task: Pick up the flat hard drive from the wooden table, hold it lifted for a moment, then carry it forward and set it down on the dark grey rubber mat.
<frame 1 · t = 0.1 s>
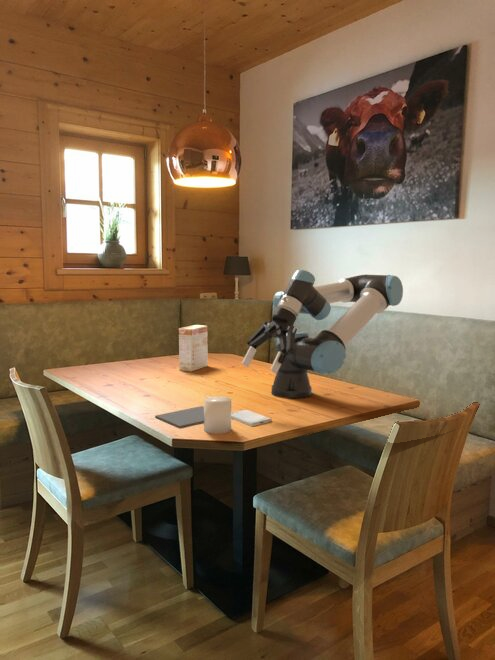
hand: (258, 368, 169), 15 cm above the table, tool tilted 35°, fingers open, 13 cm apart
cream rounded cylinder: (217, 429, 156), on the table
mat: (191, 417, 168), on the table
coffeecake box: (193, 368, 247), on the table
hard drive: (249, 421, 167), on the table
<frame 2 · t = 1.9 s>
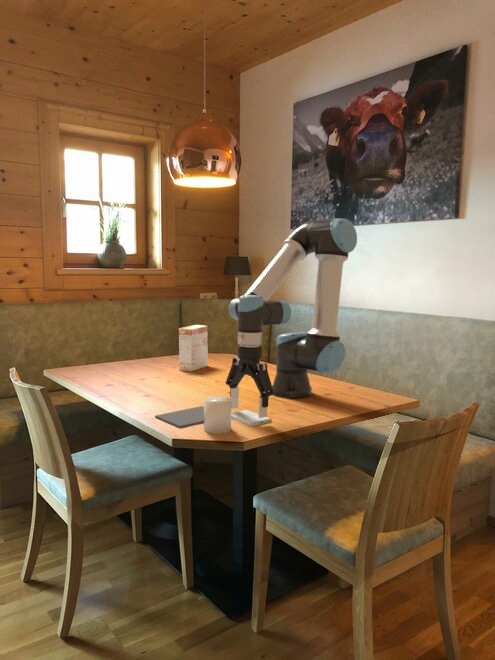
hand: (248, 412, 166), 2 cm above the table, tool pointing down, fingers open, 13 cm apart
nothing on the table moved.
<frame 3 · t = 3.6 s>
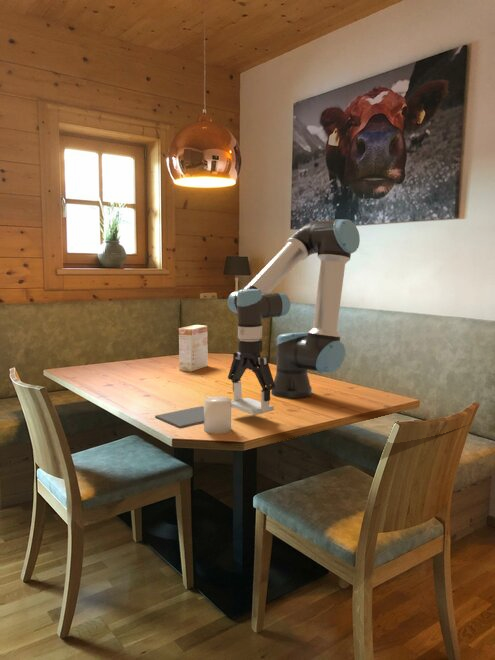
hand: (251, 406, 167), 4 cm above the table, tool pointing down, fingers closed on hard drive, 12 cm apart
hard drive: (251, 409, 167), point 3 cm above the table, touching gripper
everything else where it was.
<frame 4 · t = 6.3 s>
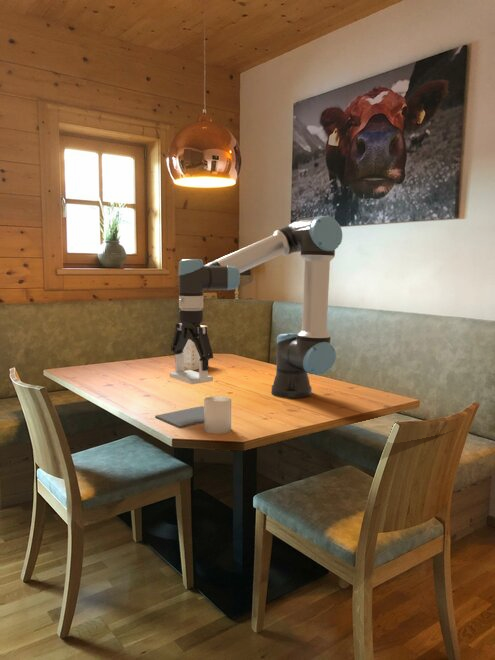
hand: (191, 377, 166), 13 cm above the table, tool pointing down, fingers closed on hard drive, 12 cm apart
hard drive: (190, 380, 166), point 12 cm above the table, touching gripper
everything else where it was.
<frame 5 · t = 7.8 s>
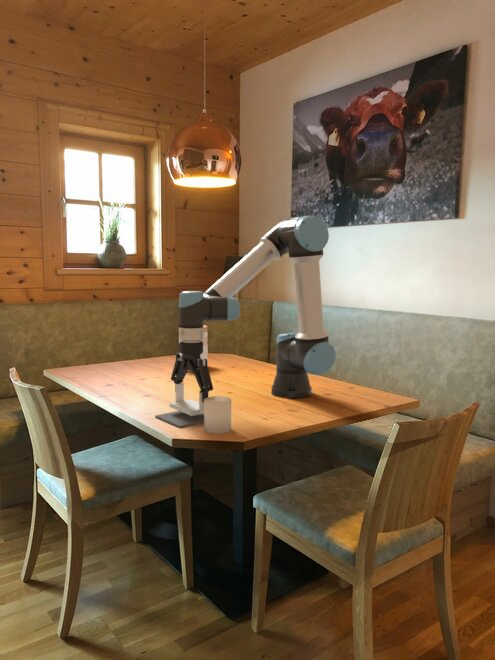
hand: (191, 407, 168), 3 cm above the table, tool pointing down, fingers closed on hard drive, 12 cm apart
hard drive: (191, 410, 168), point 2 cm above the table, touching gripper
everything else where it was.
when the fingers open (2 cm above the table, at t = 8.8 s): hard drive stays where it is, resting on mat.
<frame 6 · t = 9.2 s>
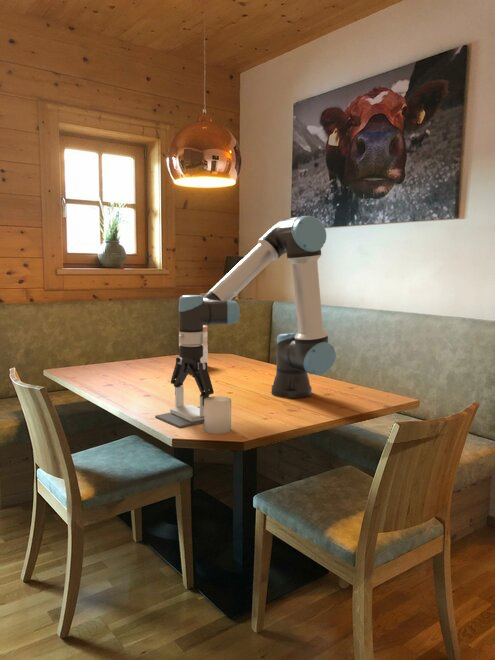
hand: (191, 411, 168), 2 cm above the table, tool pointing down, fingers open, 13 cm apart
hard drive: (191, 416, 168), resting on mat
everything else where it was.
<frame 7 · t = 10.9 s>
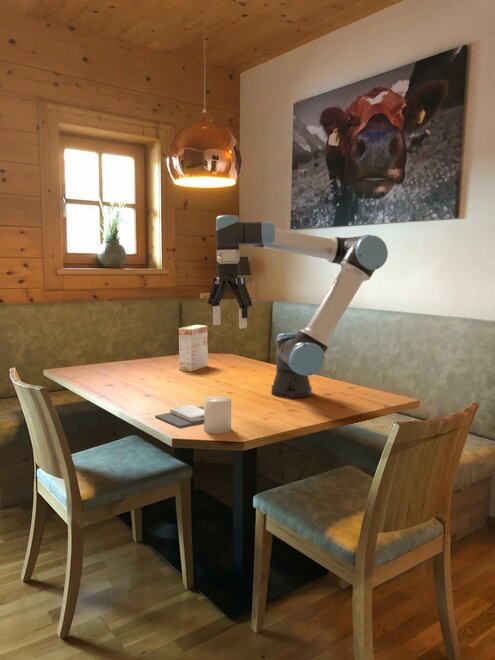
hand: (229, 326, 179), 27 cm above the table, tool pointing down, fingers open, 13 cm apart
nothing on the table moved.
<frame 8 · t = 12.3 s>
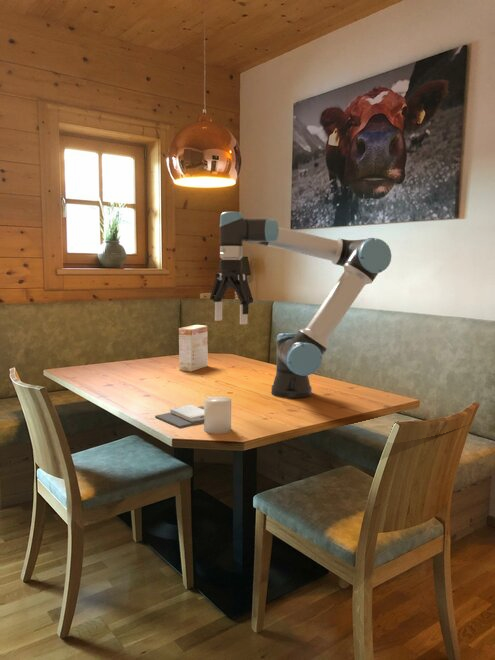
hand: (230, 322, 180), 29 cm above the table, tool pointing down, fingers open, 13 cm apart
nothing on the table moved.
at the end: hard drive inside the target area on the mat (0.0 cm from its centre), point 0.4 cm above the mat's base; the gripper is holding nothing; cream rounded cylinder moved 0.1 cm from its start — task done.
